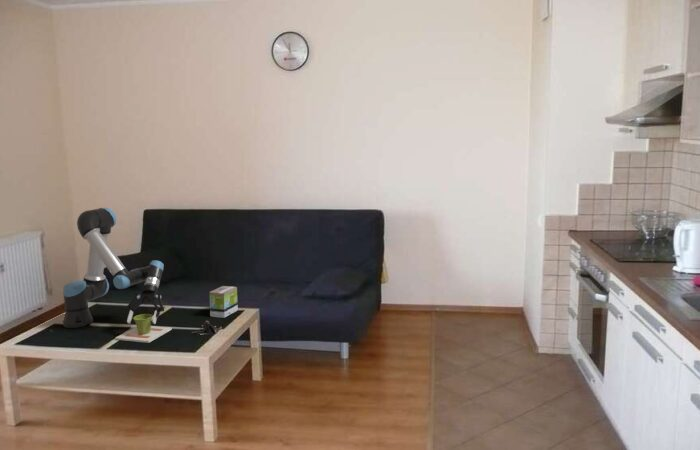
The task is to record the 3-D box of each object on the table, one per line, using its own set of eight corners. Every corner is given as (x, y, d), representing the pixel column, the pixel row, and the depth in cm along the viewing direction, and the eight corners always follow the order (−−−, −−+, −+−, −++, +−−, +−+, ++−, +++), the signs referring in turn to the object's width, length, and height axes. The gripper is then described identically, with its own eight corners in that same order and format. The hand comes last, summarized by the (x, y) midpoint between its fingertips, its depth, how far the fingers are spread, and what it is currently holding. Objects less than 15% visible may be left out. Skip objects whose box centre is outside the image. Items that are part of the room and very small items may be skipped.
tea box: (225, 318, 322) (223, 293, 320) (209, 316, 325) (208, 291, 323) (238, 310, 336) (237, 286, 334) (223, 309, 339) (222, 285, 337)
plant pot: (147, 336, 293) (146, 319, 291) (131, 335, 295) (129, 319, 293) (157, 329, 302) (155, 314, 301) (141, 329, 304) (139, 313, 302)
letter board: (115, 339, 292) (115, 337, 292) (139, 326, 311) (139, 325, 310) (148, 342, 286) (148, 340, 286) (171, 329, 305) (171, 327, 305)
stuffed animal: (225, 328, 302) (209, 320, 294) (217, 345, 300) (200, 338, 292) (213, 323, 310) (197, 315, 302) (205, 340, 308) (188, 333, 300)
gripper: (126, 283, 305) (115, 319, 293) (171, 283, 303) (162, 319, 291) (131, 290, 311) (120, 325, 299) (175, 290, 309) (166, 326, 297)
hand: (141, 322), depth 295 cm, fingers open, 13 cm apart
